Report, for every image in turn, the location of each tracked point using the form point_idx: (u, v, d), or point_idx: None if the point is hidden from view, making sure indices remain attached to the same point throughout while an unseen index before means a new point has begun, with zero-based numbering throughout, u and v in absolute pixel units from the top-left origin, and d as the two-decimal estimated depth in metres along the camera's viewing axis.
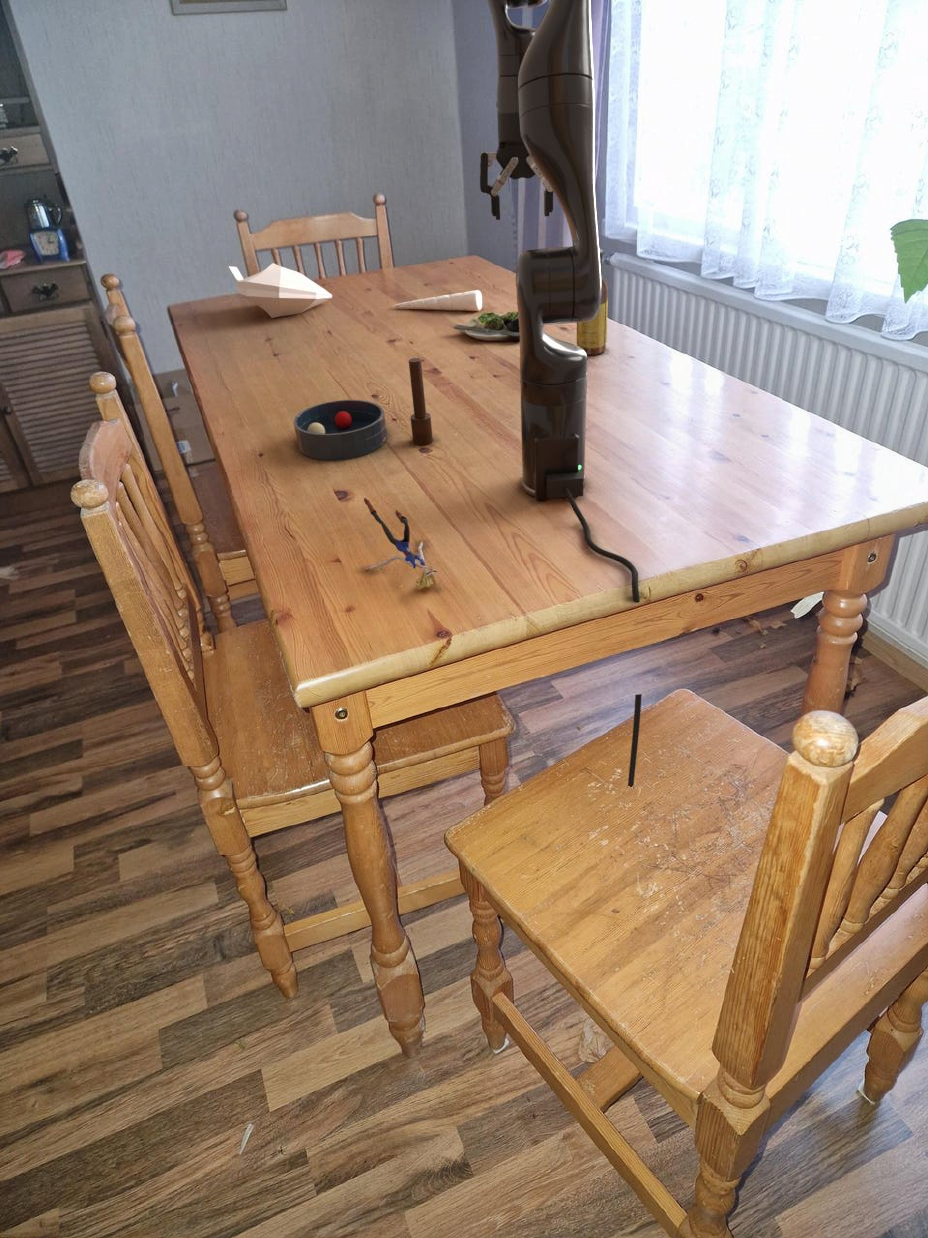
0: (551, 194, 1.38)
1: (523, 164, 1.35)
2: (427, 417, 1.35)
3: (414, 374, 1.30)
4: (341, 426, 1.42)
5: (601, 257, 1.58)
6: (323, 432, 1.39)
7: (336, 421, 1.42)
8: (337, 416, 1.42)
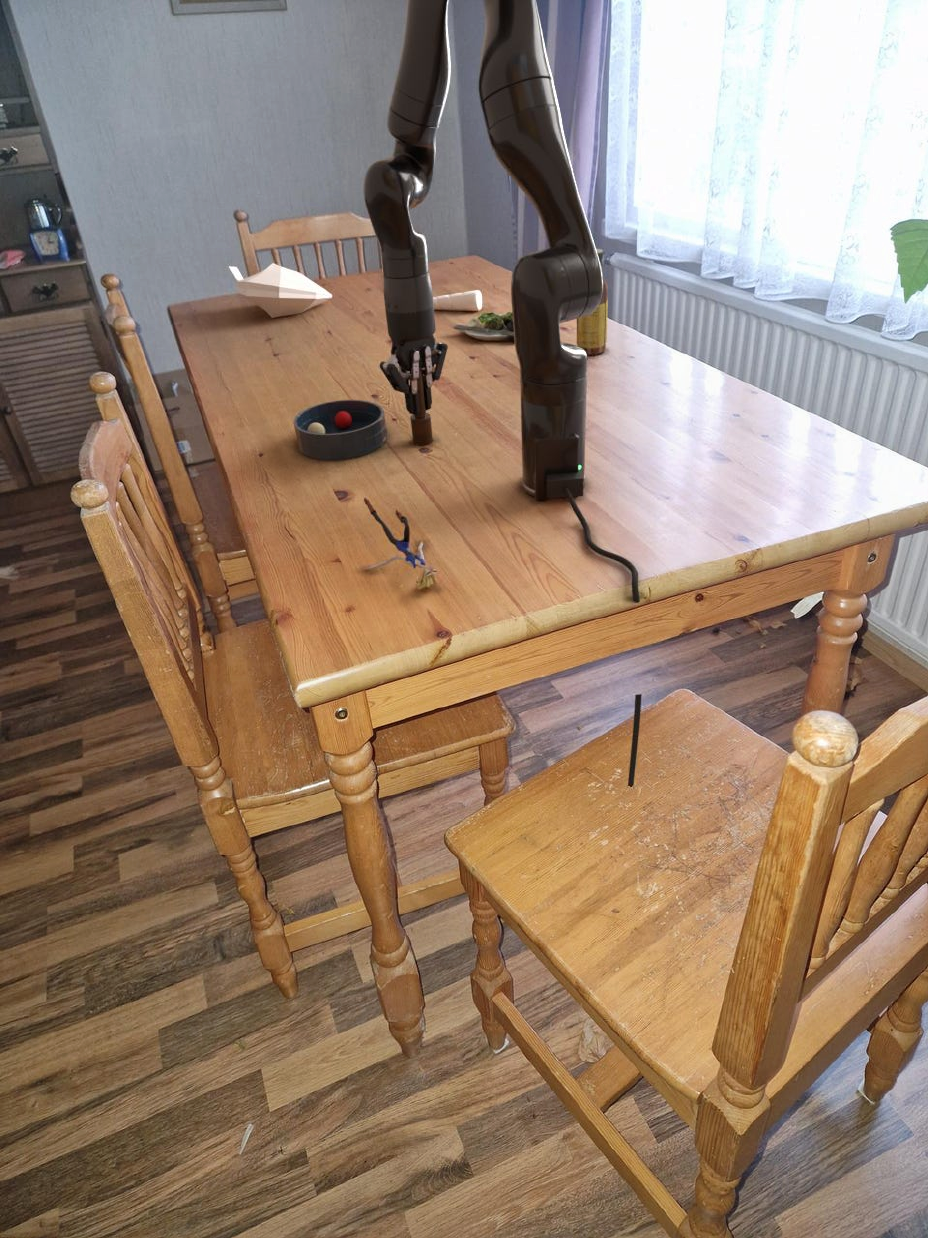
0: (429, 389, 1.34)
1: (420, 356, 1.29)
2: (427, 417, 1.35)
3: None
4: (341, 426, 1.42)
5: (601, 257, 1.58)
6: (323, 432, 1.39)
7: (336, 421, 1.42)
8: (337, 416, 1.42)
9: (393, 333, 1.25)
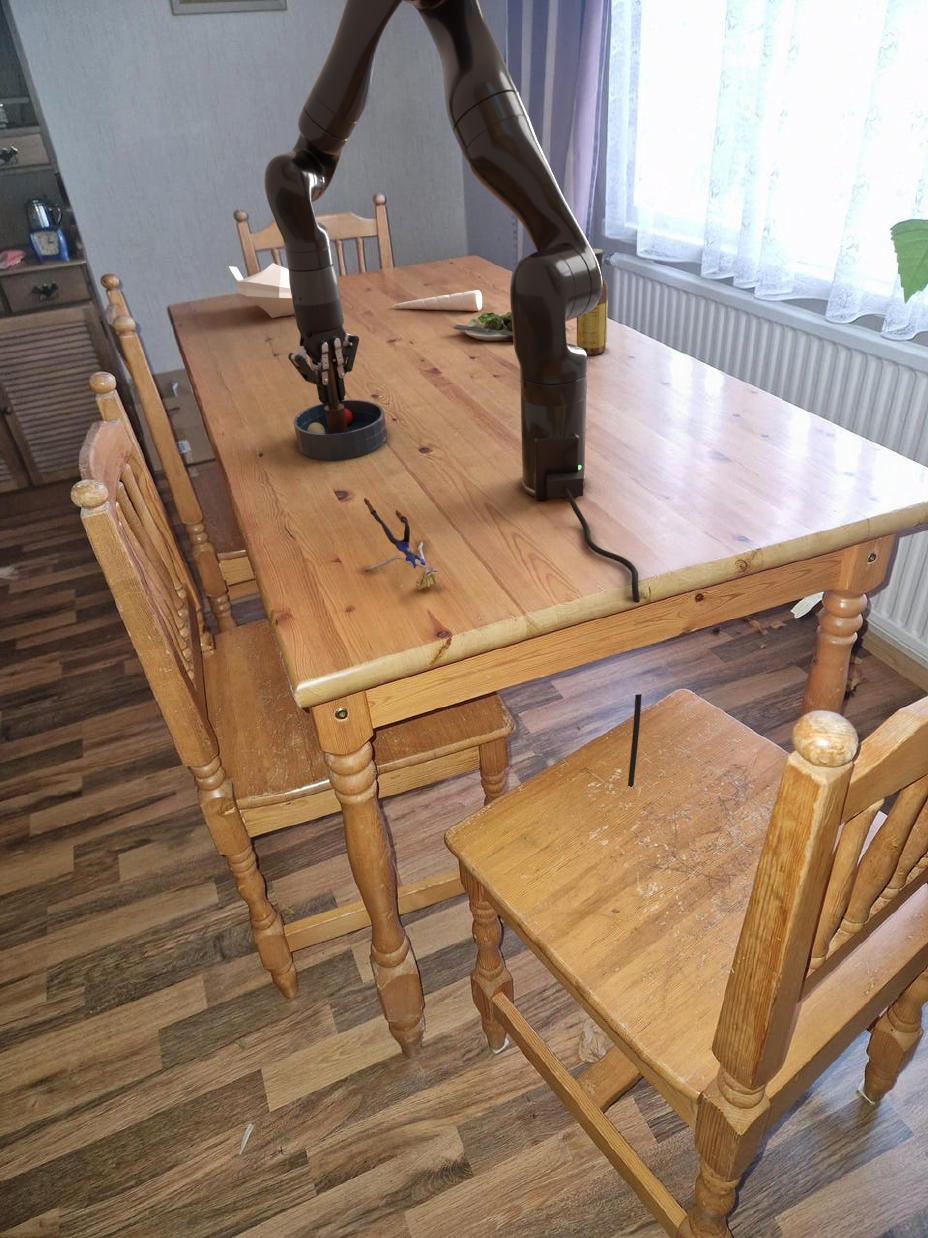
0: (342, 380, 1.37)
1: (329, 347, 1.32)
2: (341, 407, 1.38)
3: None
4: None
5: (601, 257, 1.58)
6: (323, 432, 1.39)
7: None
8: None
9: (300, 325, 1.28)
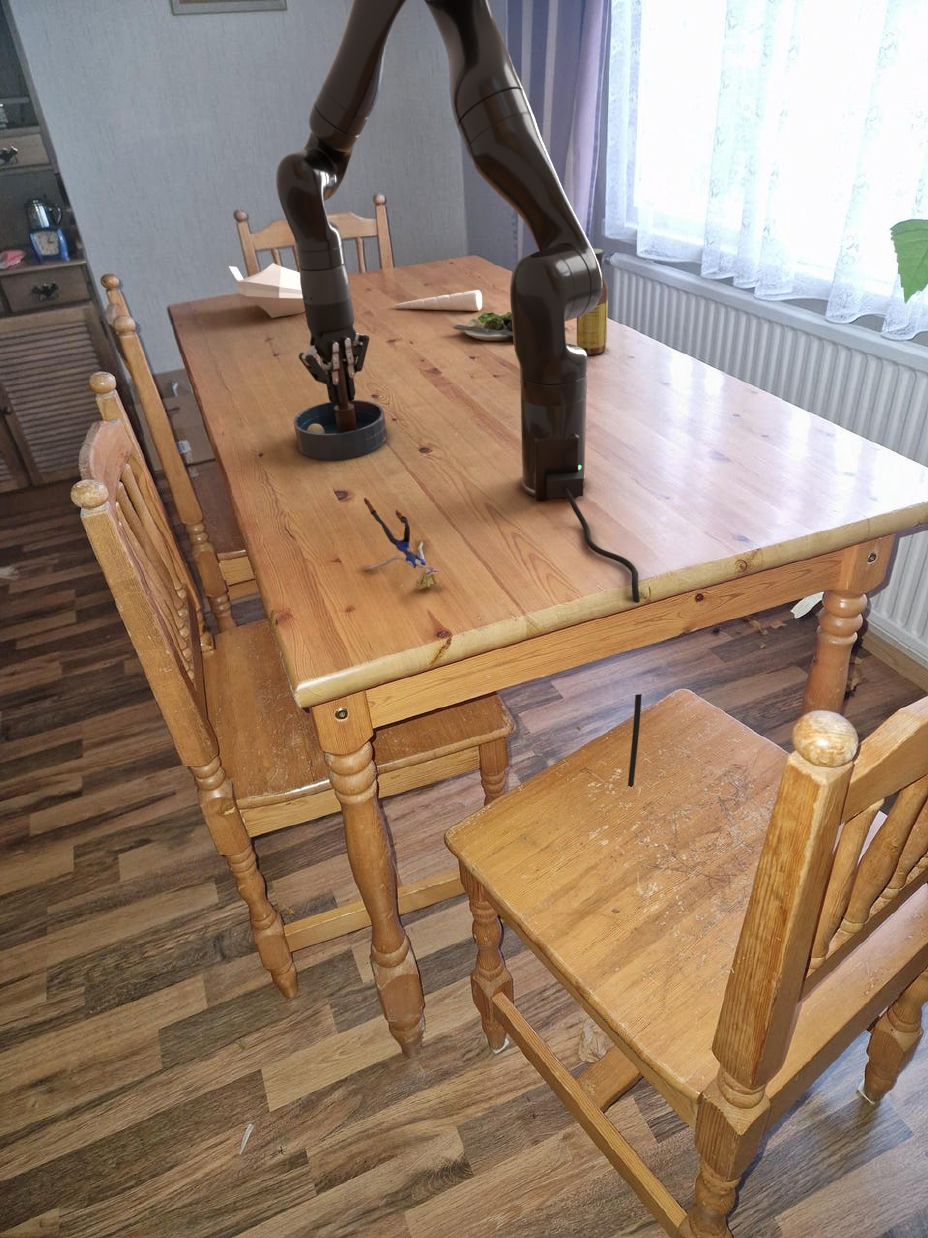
0: (352, 380, 1.36)
1: (340, 347, 1.31)
2: (351, 407, 1.37)
3: None
4: None
5: (601, 257, 1.58)
6: None
7: None
8: None
9: (311, 324, 1.27)
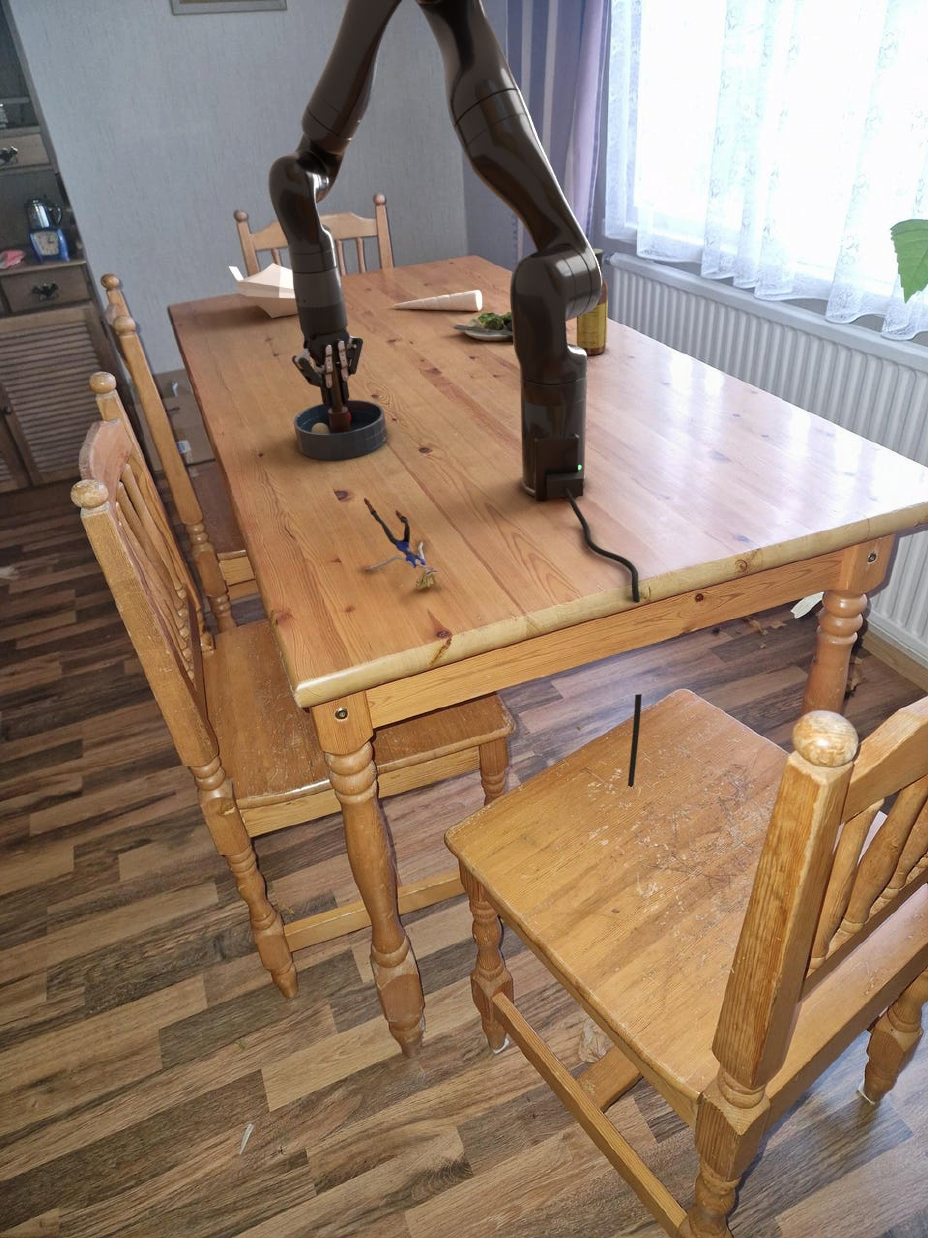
0: (346, 383, 1.35)
1: (333, 350, 1.31)
2: (344, 410, 1.37)
3: None
4: None
5: (601, 257, 1.58)
6: None
7: None
8: None
9: (304, 327, 1.27)
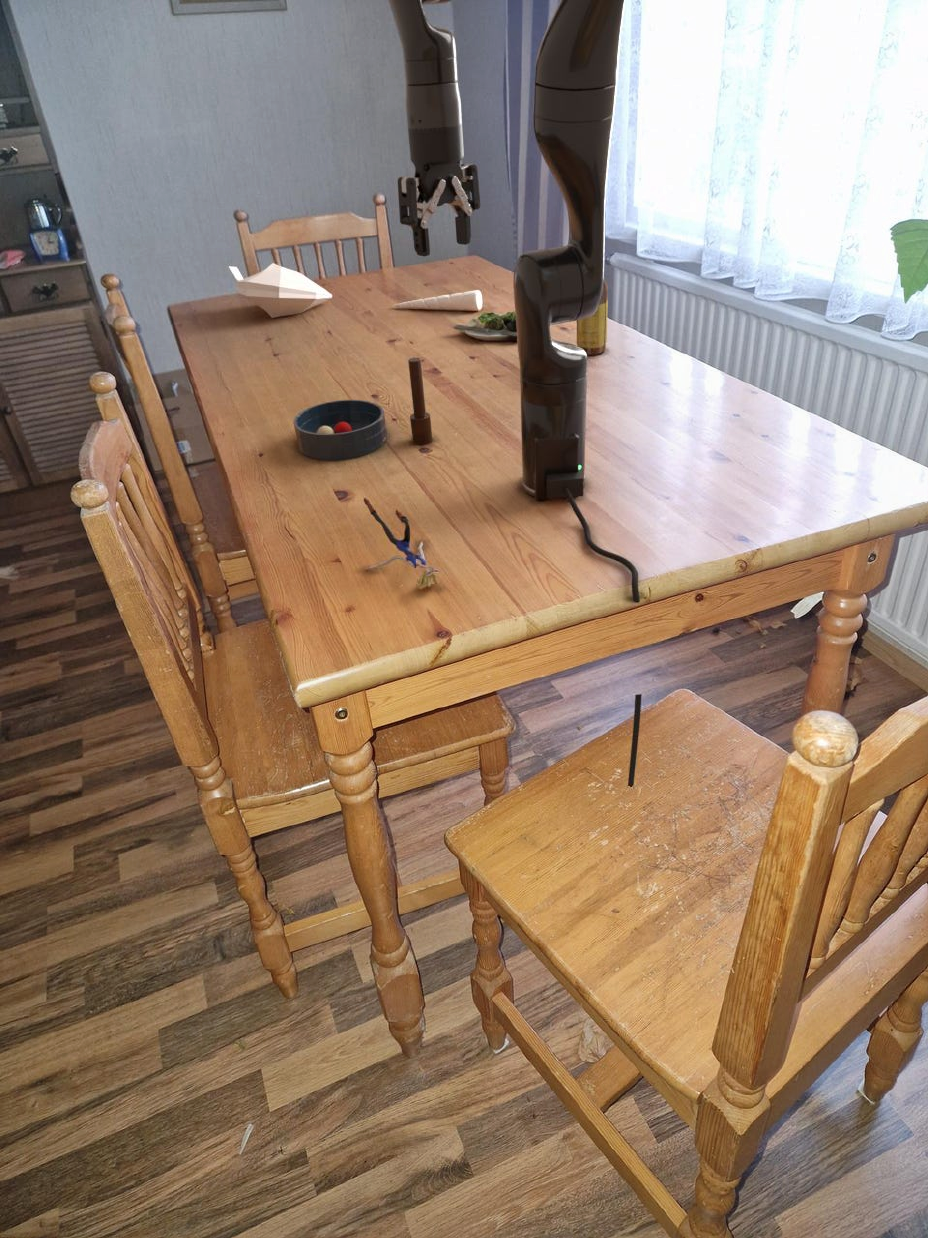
0: (469, 219, 1.21)
1: (446, 187, 1.15)
2: (427, 416, 1.35)
3: (414, 373, 1.31)
4: None
5: None
6: None
7: None
8: None
9: (417, 156, 1.11)
